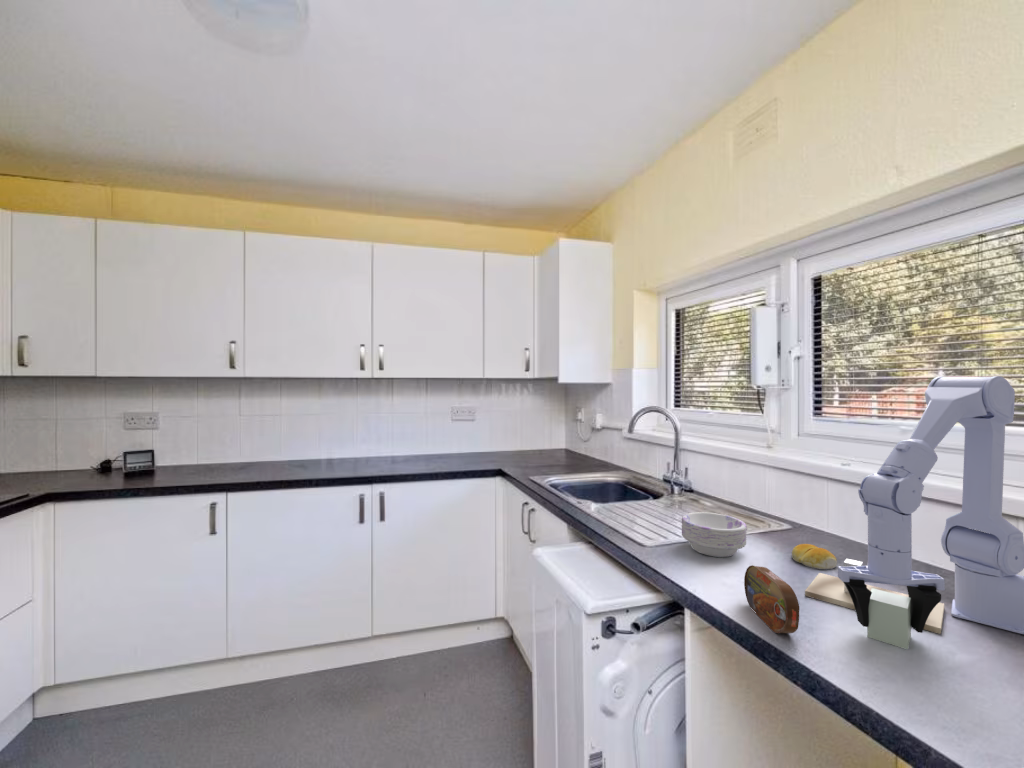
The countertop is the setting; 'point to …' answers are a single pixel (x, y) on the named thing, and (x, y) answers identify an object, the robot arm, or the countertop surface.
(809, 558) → the bread roll
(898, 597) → the pale green block
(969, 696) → the countertop surface
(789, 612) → the tin
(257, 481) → the countertop surface
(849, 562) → the grey and beige block
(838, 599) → the board
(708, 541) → the paper bowls
